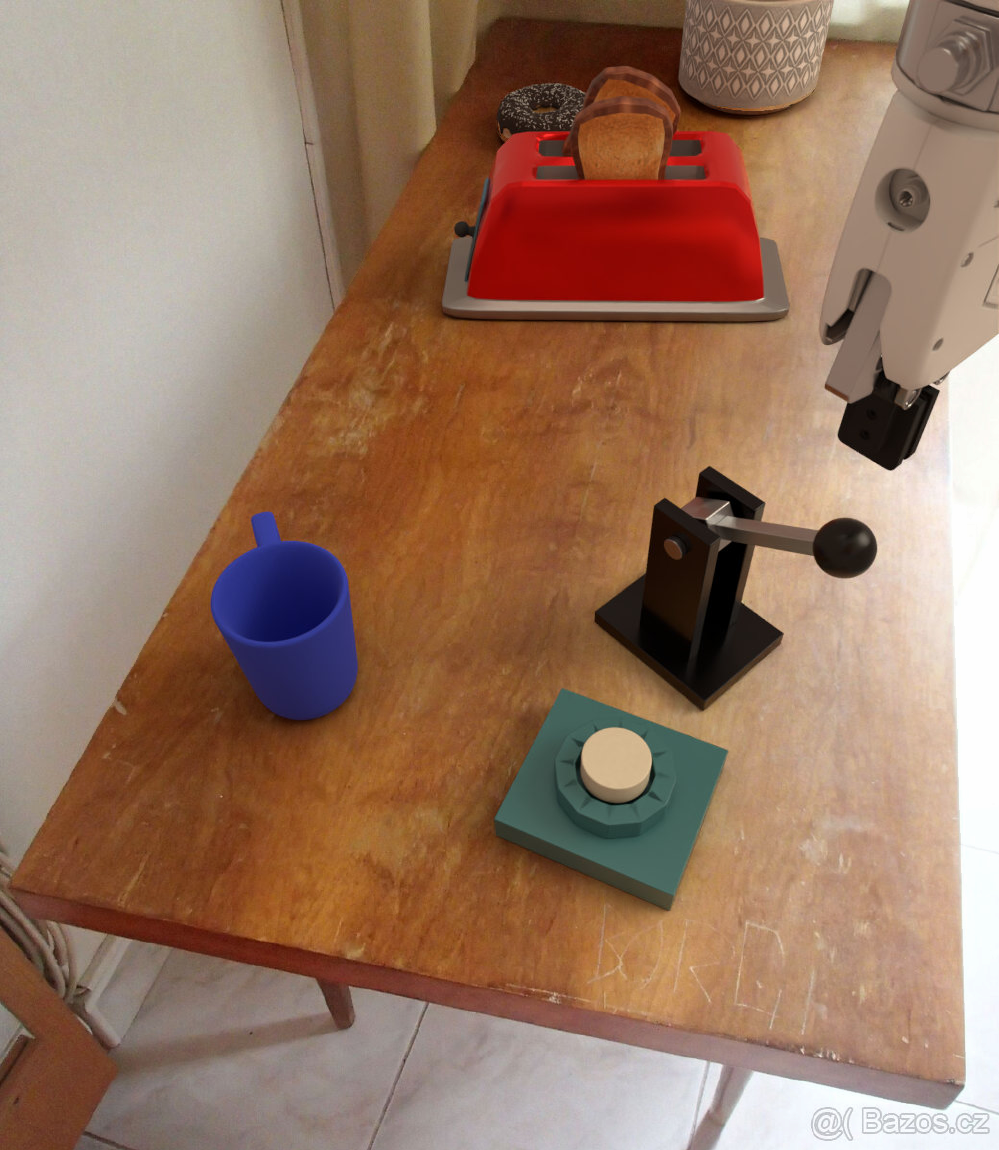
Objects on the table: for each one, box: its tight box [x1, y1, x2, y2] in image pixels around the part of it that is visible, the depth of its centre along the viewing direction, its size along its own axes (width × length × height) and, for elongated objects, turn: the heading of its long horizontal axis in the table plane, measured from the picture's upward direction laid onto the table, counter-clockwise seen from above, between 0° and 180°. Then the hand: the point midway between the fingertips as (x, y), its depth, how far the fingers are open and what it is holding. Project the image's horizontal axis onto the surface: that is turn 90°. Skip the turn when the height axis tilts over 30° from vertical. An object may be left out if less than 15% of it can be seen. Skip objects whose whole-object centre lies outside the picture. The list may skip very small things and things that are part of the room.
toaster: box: [441, 65, 791, 322], centre depth 88 cm, size 32×13×19 cm, turn 86°
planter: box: [677, 0, 835, 116], centre depth 115 cm, size 16×16×13 cm
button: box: [581, 727, 652, 803], centre depth 57 cm, size 4×4×2 cm
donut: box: [495, 82, 586, 143], centre depth 113 cm, size 11×12×4 cm
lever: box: [680, 496, 878, 580], centre depth 56 cm, size 13×3×3 cm
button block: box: [493, 687, 729, 911], centre depth 59 cm, size 11×10×4 cm
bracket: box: [593, 465, 785, 712], centre depth 63 cm, size 10×8×13 cm
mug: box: [210, 511, 359, 721], centre depth 64 cm, size 8×12×10 cm
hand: (874, 447), depth 46 cm, fingers closed
